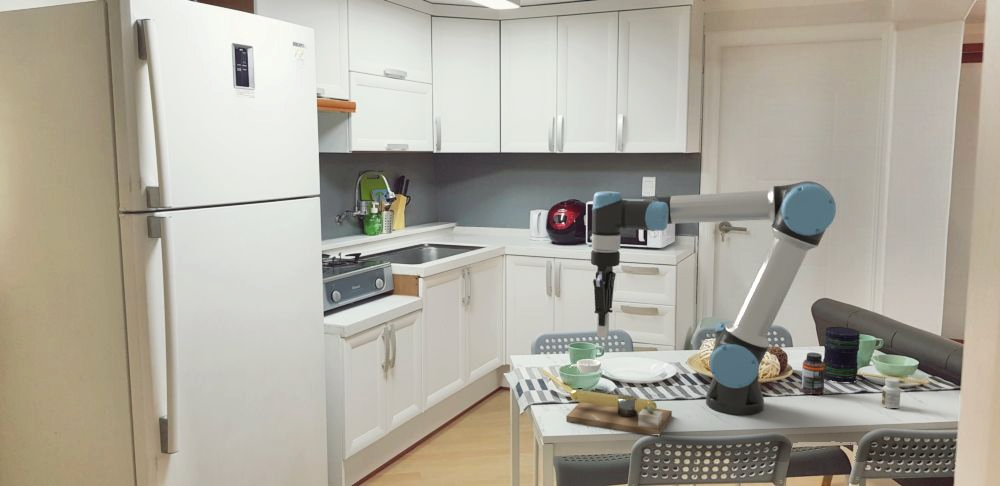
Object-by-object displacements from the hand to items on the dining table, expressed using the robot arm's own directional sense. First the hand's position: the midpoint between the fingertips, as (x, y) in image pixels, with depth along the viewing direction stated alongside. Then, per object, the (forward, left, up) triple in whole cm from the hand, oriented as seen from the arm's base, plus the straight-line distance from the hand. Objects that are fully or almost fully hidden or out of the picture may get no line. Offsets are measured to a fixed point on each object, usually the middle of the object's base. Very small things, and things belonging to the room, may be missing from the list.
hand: (602, 336), depth 208 cm
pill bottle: (-72, -33, -20) cm, 82 cm away
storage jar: (-59, -54, -20) cm, 82 cm away
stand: (-7, +7, -19) cm, 22 cm away
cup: (+9, -12, -20) cm, 25 cm away
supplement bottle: (-52, -37, -20) cm, 67 cm away
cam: (-5, +7, -18) cm, 20 cm away
